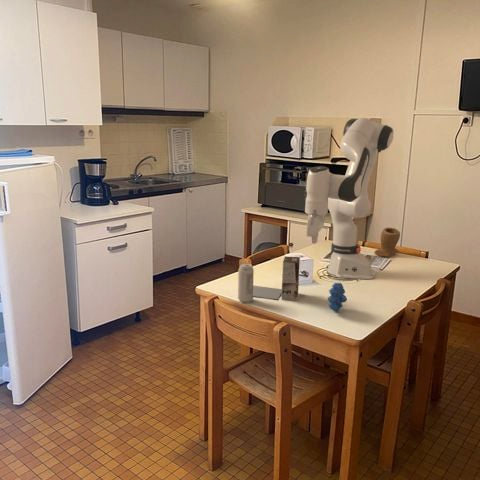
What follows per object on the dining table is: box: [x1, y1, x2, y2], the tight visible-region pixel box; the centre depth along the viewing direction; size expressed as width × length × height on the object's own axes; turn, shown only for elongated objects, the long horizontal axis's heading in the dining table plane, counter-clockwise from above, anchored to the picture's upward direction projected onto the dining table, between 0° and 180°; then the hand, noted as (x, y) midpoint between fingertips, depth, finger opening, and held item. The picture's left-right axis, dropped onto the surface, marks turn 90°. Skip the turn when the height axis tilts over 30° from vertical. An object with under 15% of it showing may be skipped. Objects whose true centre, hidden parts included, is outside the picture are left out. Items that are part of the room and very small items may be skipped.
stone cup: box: [374, 227, 401, 258], centre depth 261 cm, size 15×12×15 cm
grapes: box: [327, 282, 348, 313], centre depth 184 cm, size 12×7×12 cm, turn 144°
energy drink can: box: [237, 263, 255, 304], centre depth 194 cm, size 6×6×15 cm
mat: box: [253, 285, 282, 301], centre depth 204 cm, size 16×12×1 cm
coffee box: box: [280, 256, 301, 302], centre depth 199 cm, size 9×6×16 cm
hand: (314, 242), depth 192 cm, fingers closed
